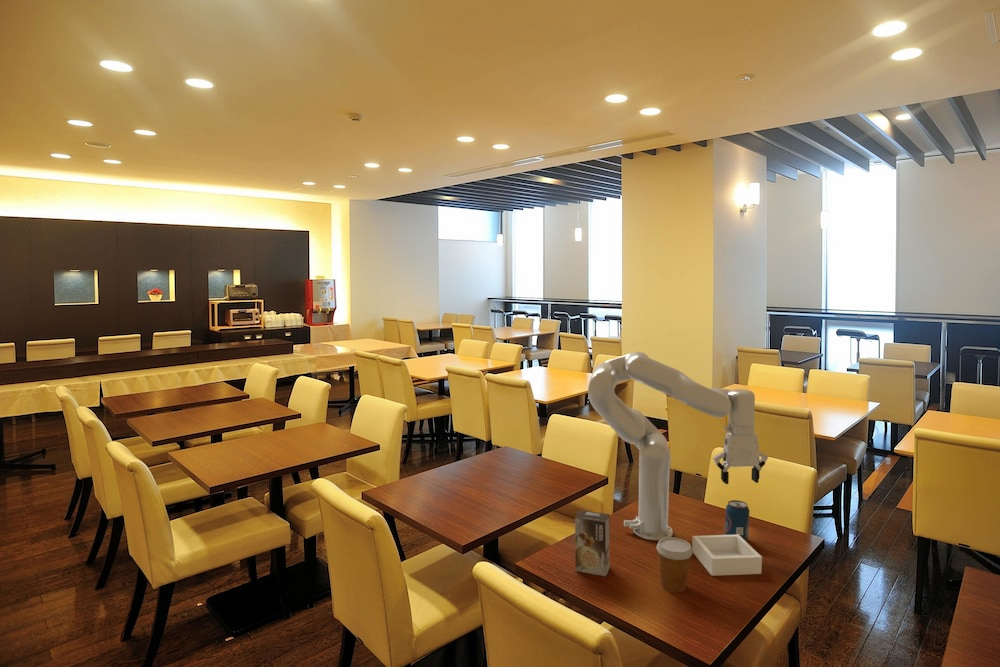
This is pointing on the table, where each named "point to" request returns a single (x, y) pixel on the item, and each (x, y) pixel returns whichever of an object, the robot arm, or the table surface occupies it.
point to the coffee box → (592, 542)
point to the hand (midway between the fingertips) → (740, 482)
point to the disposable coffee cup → (674, 563)
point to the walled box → (726, 555)
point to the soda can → (737, 519)
